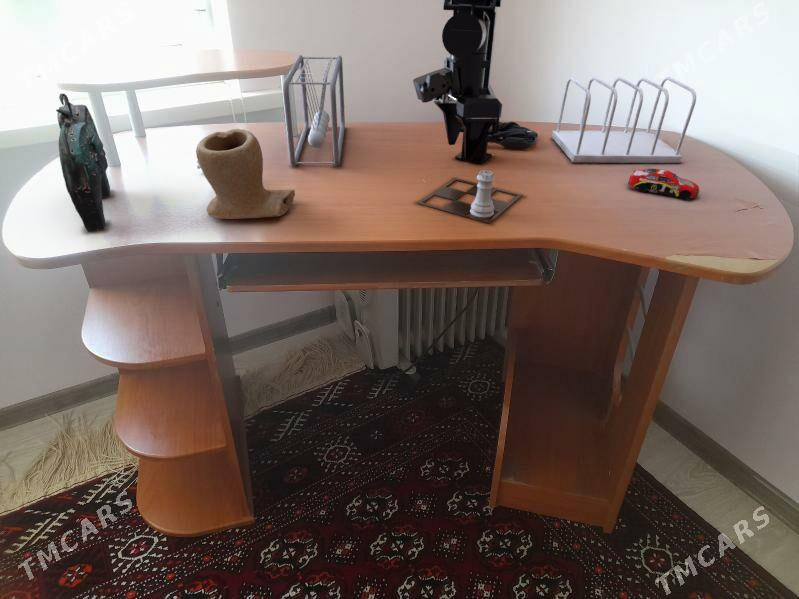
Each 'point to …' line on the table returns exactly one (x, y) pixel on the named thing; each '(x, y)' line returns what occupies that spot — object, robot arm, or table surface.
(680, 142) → the file sorter
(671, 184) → the race car
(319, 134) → the newton's cradle
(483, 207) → the rook chess piece
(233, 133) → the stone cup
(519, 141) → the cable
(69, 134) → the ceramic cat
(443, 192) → the chessboard
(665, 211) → the table surface
